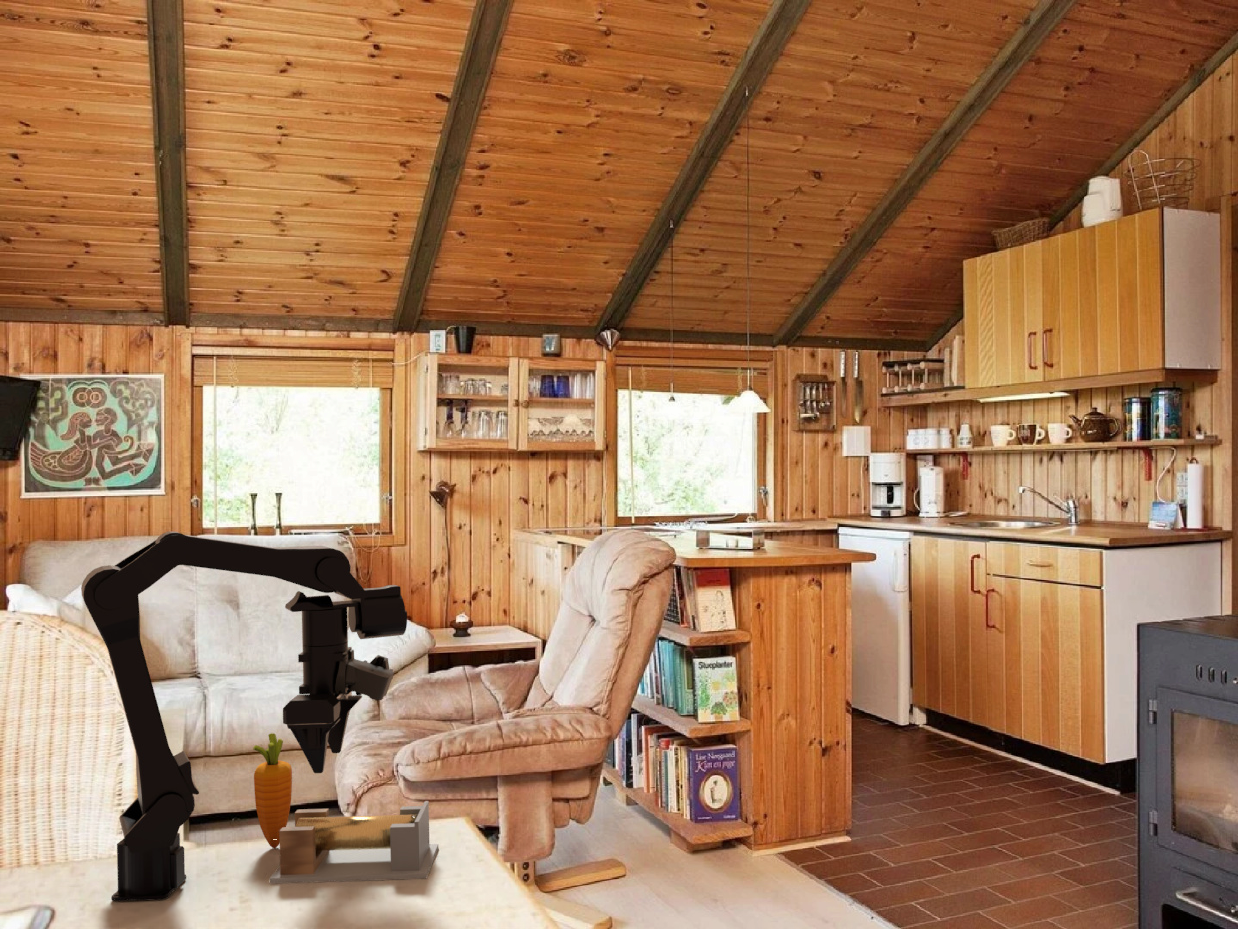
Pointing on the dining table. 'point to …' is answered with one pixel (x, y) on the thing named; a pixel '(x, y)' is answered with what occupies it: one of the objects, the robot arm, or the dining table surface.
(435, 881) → the dining table surface
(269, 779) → the carrot
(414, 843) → the socket
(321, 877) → the board
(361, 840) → the tube
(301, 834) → the wooden u-shaped cradle
